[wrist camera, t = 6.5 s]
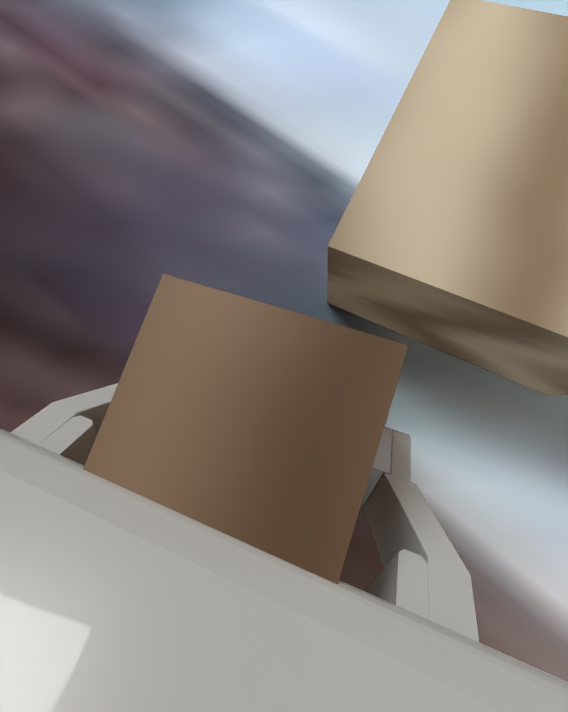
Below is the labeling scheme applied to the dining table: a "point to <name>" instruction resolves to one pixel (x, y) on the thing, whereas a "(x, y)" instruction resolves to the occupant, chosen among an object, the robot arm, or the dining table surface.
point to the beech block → (471, 200)
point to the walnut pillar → (250, 421)
